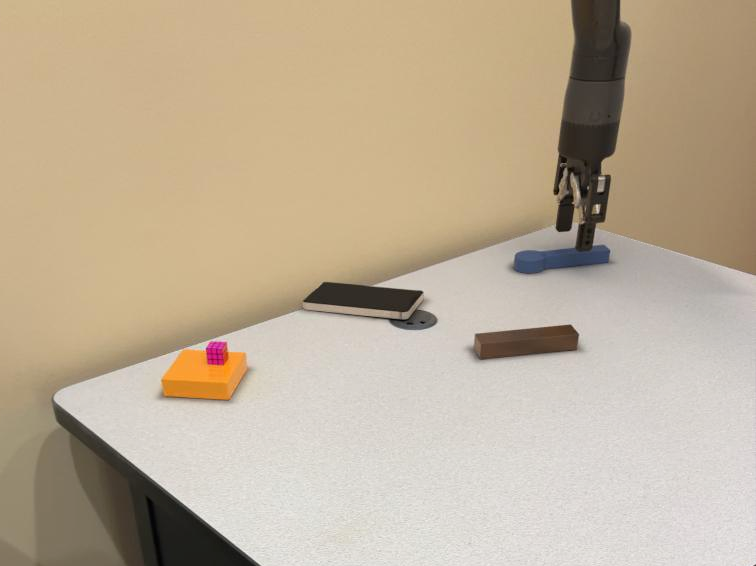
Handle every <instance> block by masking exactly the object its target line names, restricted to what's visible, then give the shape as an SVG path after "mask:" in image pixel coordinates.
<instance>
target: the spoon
mask: <svg viewBox="0 0 756 566" xmlns="http://www.w3.org/2000/svg"><path fill="white" fill-rule="evenodd" d="M610 256H611V249H610V248H609V247H608V246H607V245H605V244H596V245H593V246H592V249H591V250H590V251H586V252H578V251H577V250H576V249H575V247H567V248H558V249H551V250H542V251H541V250H533V249H526V250H520V251H518V252H516V253H515V254H514V258H513V269H514V270H515V271H516V272H519V273H522V274H537V273H540V272H543V271H544V270H550V269H558V268H567V267H579V266H587V265H596V264H606V263H609V261H610Z"/></svg>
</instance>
